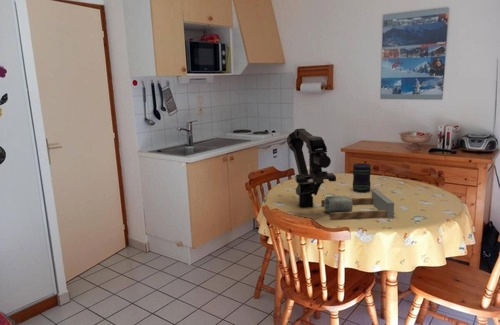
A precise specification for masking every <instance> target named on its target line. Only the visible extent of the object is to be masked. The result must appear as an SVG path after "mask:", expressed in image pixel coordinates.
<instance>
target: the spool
mask: <svg viewBox="0 0 500 325" xmlns="http://www.w3.org/2000/svg"><path fill="white" fill-rule="evenodd" d="M352 199H353V198H351V197H350V196H346V195H331V196H327V197H325V198H324V199H323V200H324V206H323V208H324V210H325V212H326V213H329V214H330V213H335V212H352V210H353V206H354V205H352Z"/></svg>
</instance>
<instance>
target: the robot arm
mask: <svg viewBox="0 0 500 325" xmlns="http://www.w3.org/2000/svg"><path fill="white" fill-rule="evenodd" d="M286 144H287V145H288V146H287V147H288V148H289V150H291V151H292V152H293V156H294V160H295V164H296V168H297V171H298V173H297V174H296V175H295V176H294V180H295V182H296V183H297V186H296V189H295V194H296V195H297V196H298V206H299V208H311V207H313V205H314V197H313V195H314V196H317V195H318V192H319V189H320V187H321V185H322V184H325V180H327V181H328V182H337V176H336V175H335V174H334V173H333V172H328V171H327V170H326V171H325V170H324V171H323V169H326V168H328V167H330V165H331V163H332V161H331V158H330V156H328V155H327V154H328V150H327V149H328V148H327V145H326V143H325V140H324V138H322V137H321V136H318V135H317V136H316V135H313V134H312V133H310V132H309V131H307V130H306V128H296V129H294V130H293V132H291V133H289V134H288V136H287V138H286ZM304 144H305V146H306V148H307V150H308V151H307V153H308V156H309V158H308V159H309V160H308V165H307V164H306V163H307V162H306V159H305V154H304V152H303V148H304ZM307 166H309V174H308V170H307ZM315 183H316V185H315ZM313 208H314V207H313Z"/></svg>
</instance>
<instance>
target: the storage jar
mask: <svg viewBox="0 0 500 325" xmlns="http://www.w3.org/2000/svg"><path fill="white" fill-rule="evenodd" d="M371 167H372V166H371V164H370V163H354V164H353V165H352V175H353V178H352V180H353V181H352V191H353V192H355V193H360V194H366V193H370V192H371V185H372V184H371V174H372V168H371Z"/></svg>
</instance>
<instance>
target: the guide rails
mask: <svg viewBox="0 0 500 325" xmlns="http://www.w3.org/2000/svg"><path fill="white" fill-rule="evenodd" d="M351 199H352V205H353V206H362V205H363V206H364V205H373V198H371V197H360V198H359V197H357V198H356V197H354V198H351ZM324 200H325V199H321V207H323V208H324ZM379 218H380V219H381V218H387V211H386V210H378V209H377V210H361V211H359V210H357V211H350V212H330V213H329V219H330V221H335V220H336V221H339V220H353V219H354V220H355V219H356V220H357V219H358V220H359V219H360V220H362V219H379Z"/></svg>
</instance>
